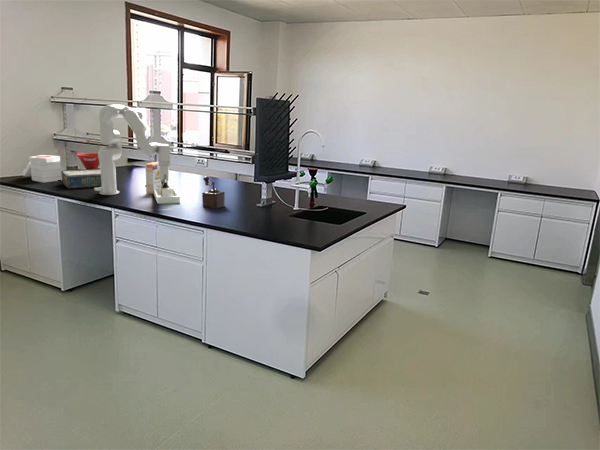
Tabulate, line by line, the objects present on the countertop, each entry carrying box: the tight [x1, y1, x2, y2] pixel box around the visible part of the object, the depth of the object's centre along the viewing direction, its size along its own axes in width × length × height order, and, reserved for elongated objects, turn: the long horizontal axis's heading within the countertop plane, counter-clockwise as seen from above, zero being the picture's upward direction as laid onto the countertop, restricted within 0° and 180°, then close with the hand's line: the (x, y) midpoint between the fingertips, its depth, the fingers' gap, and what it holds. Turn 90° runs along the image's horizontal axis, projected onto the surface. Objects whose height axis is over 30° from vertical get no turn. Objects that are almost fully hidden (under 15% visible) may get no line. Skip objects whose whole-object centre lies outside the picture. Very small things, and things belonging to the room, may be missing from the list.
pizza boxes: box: [21, 154, 63, 183], centre depth 353 cm, size 19×30×18 cm, turn 58°
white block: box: [162, 187, 173, 197], centre depth 296 cm, size 6×6×8 cm
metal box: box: [61, 168, 101, 189], centre depth 341 cm, size 21×32×10 cm, turn 125°
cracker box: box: [145, 161, 162, 195], centre depth 324 cm, size 14×6×21 cm, turn 168°
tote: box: [153, 187, 181, 205], centre depth 304 cm, size 14×30×5 cm, turn 22°
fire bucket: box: [75, 140, 102, 170], centre depth 365 cm, size 22×20×30 cm
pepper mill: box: [201, 176, 226, 210], centre depth 291 cm, size 16×11×18 cm
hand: (164, 188), depth 308 cm, fingers open, 9 cm apart
